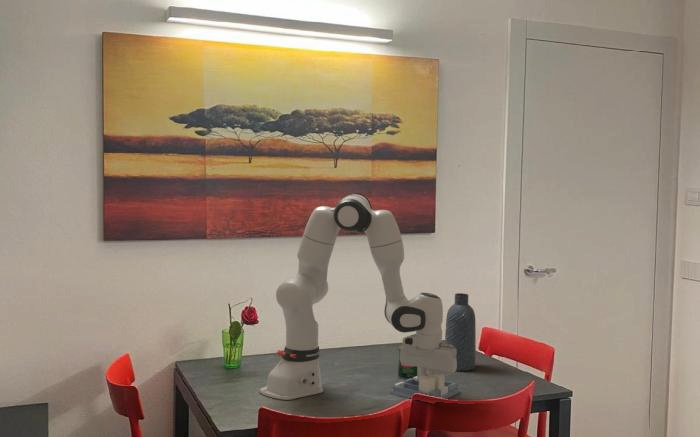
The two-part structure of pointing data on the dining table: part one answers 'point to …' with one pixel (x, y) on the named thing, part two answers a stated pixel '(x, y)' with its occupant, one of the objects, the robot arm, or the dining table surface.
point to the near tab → (426, 384)
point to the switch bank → (412, 387)
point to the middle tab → (438, 380)
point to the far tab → (419, 373)
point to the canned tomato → (406, 369)
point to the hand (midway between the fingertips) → (427, 381)
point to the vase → (462, 332)
